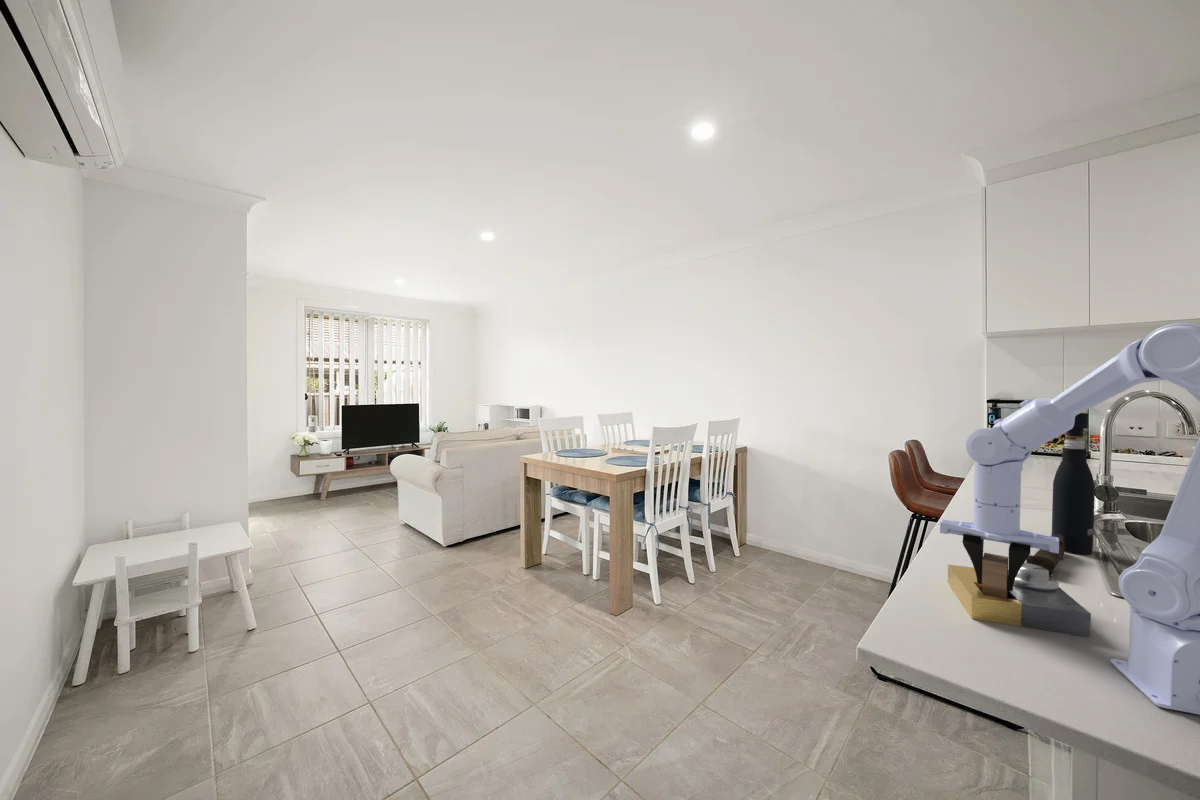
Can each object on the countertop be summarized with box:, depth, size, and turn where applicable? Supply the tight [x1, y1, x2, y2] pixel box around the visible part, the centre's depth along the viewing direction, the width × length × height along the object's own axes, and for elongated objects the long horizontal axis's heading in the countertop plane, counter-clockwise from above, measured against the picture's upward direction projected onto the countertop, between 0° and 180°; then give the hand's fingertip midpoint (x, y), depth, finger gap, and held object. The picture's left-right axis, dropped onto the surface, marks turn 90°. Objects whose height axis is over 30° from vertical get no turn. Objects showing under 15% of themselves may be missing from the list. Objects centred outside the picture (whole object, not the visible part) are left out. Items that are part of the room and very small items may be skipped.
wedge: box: [982, 552, 1009, 598], centre depth 76 cm, size 4×3×8 cm
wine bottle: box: [1051, 412, 1096, 556], centre depth 102 cm, size 6×6×30 cm
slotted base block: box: [947, 562, 1092, 638], centre depth 77 cm, size 14×14×6 cm
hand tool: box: [1025, 534, 1065, 577], centre depth 95 cm, size 19×4×5 cm, turn 125°
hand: (994, 585), depth 76 cm, fingers closed on wedge, 3 cm apart
